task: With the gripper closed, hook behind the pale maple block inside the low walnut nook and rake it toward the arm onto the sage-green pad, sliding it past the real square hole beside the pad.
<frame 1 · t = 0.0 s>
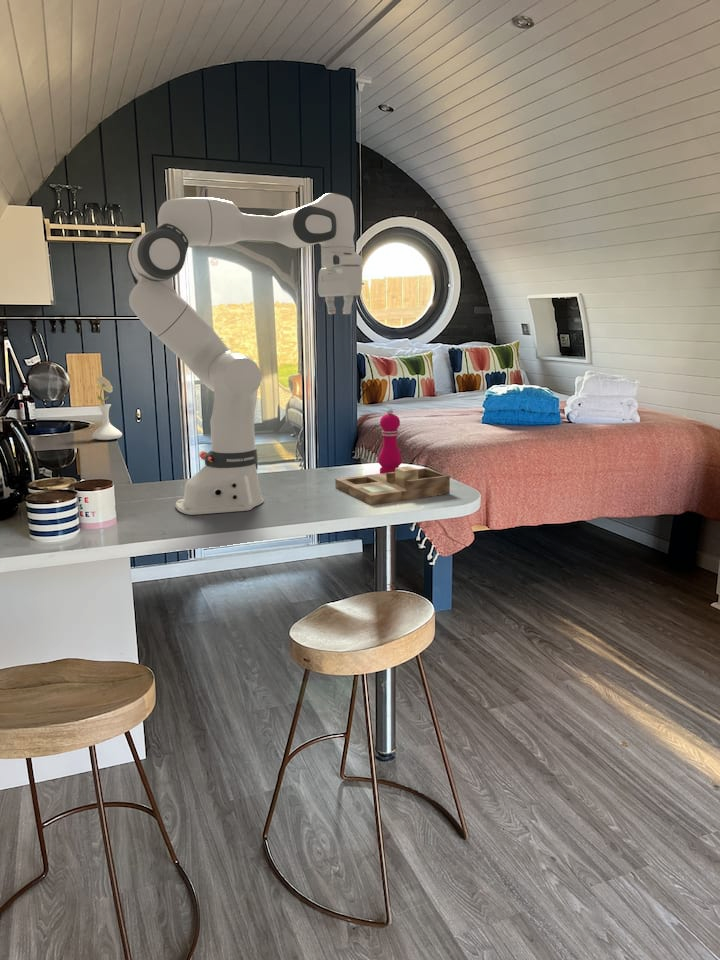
hand: (339, 314, 198), 48 cm above the worktop, fingers open, 8 cm apart
flower in vase: (107, 439, 297), on the worktop
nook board: (391, 490, 207), on the worktop
pepper mill: (390, 474, 228), on the worktop
maple block: (406, 484, 203), point 2 cm above the worktop, touching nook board
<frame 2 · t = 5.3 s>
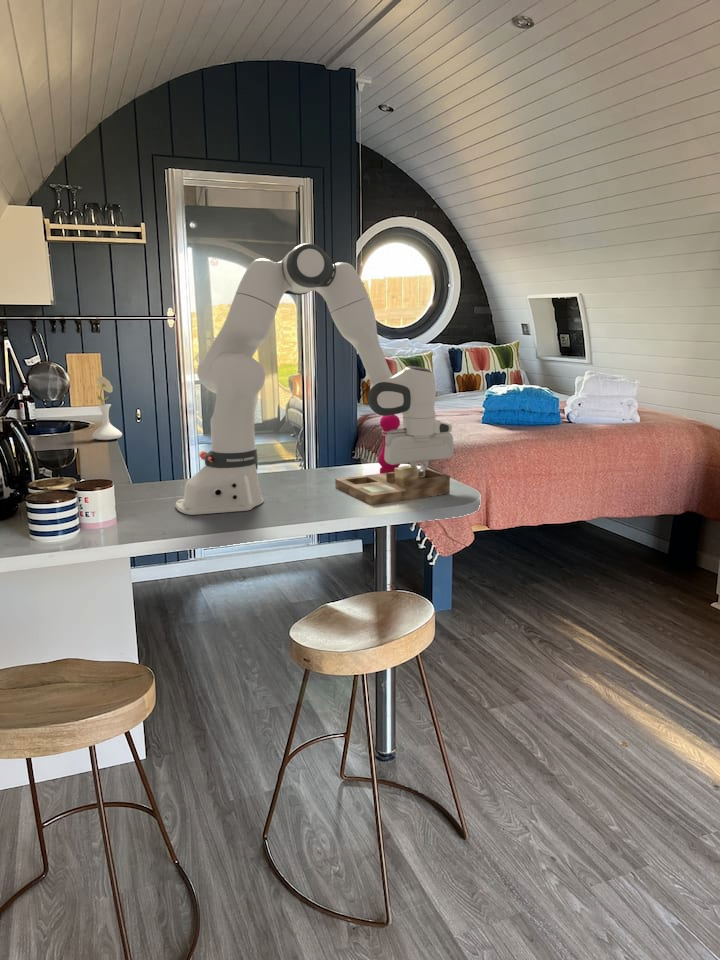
hand: (419, 477, 204), 4 cm above the worktop, fingers closed
maple block: (406, 484, 203), point 3 cm above the worktop, touching gripper, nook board
everything else where it was.
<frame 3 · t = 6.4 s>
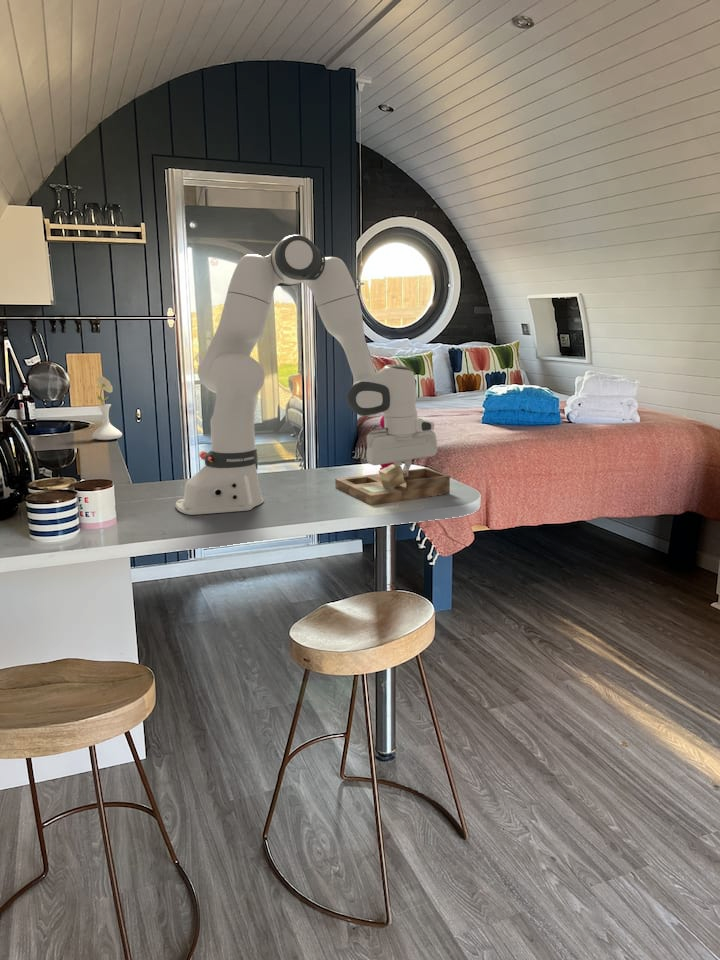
hand: (403, 476, 202), 5 cm above the worktop, fingers closed
maple block: (393, 484, 201), point 3 cm above the worktop, tilted 17°, touching gripper, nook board
everything else where it was.
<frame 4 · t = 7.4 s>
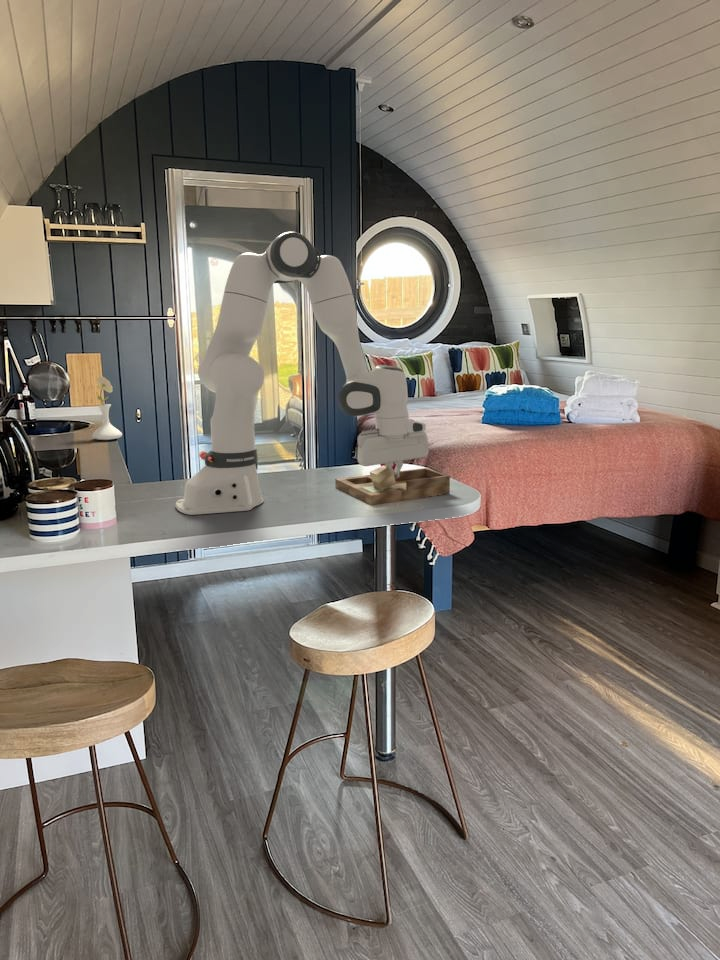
hand: (394, 477, 200), 5 cm above the worktop, fingers closed
maple block: (385, 485, 200), point 3 cm above the worktop, tilted 17°, touching gripper, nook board
everything else where it was.
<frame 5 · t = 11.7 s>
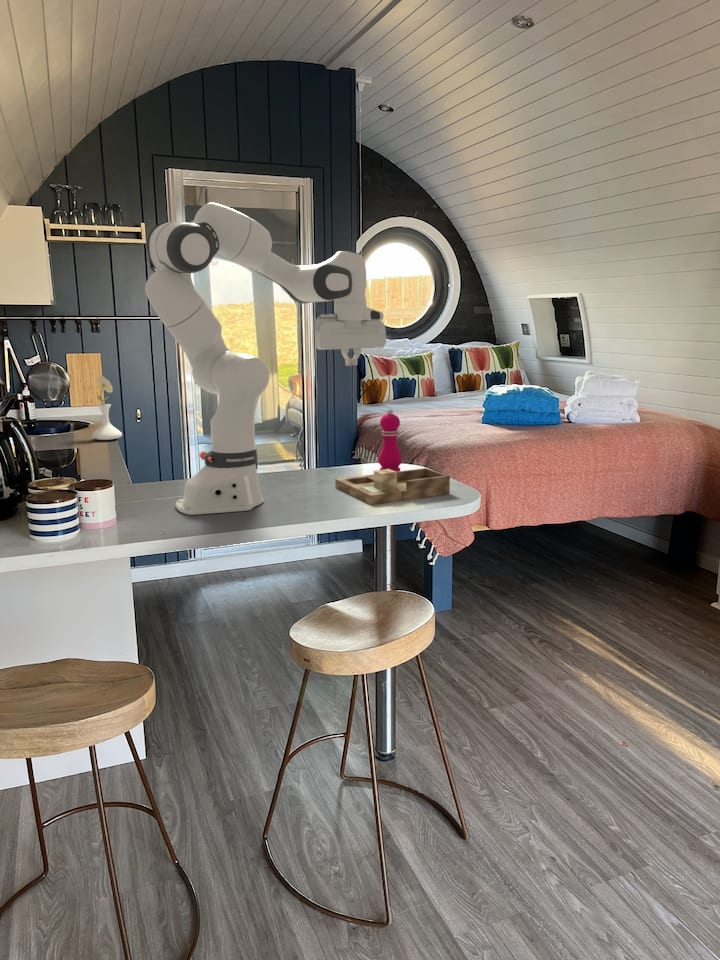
hand: (351, 365, 205), 34 cm above the worktop, fingers closed
maple block: (385, 487, 200), point 2 cm above the worktop, touching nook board
everything else where it was.
at the end: maple block inside the target area on the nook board (1.6 cm from its centre), point 2.5 cm above the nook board's base; maple block tilted 0° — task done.
